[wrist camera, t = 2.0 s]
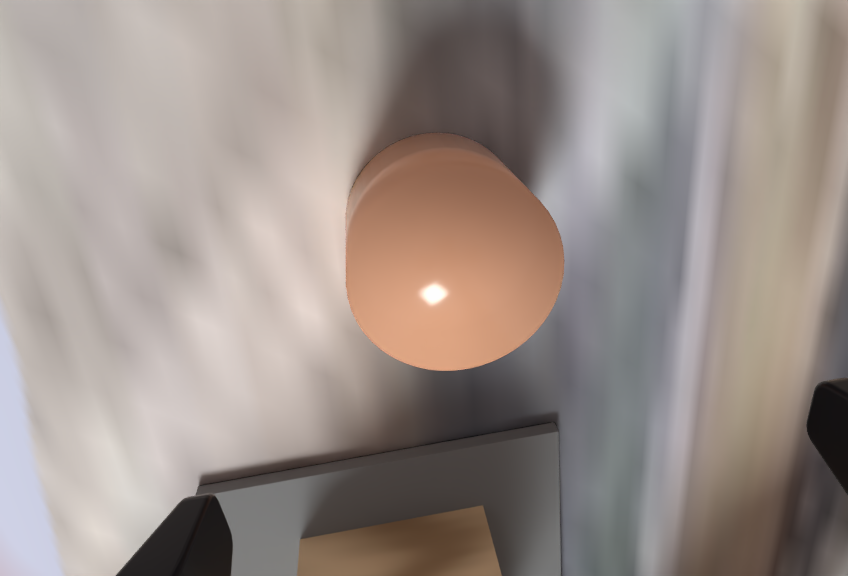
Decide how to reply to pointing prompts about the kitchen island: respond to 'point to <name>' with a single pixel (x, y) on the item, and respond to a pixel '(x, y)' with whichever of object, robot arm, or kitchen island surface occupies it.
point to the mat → (405, 499)
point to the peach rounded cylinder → (448, 254)
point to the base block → (406, 548)
